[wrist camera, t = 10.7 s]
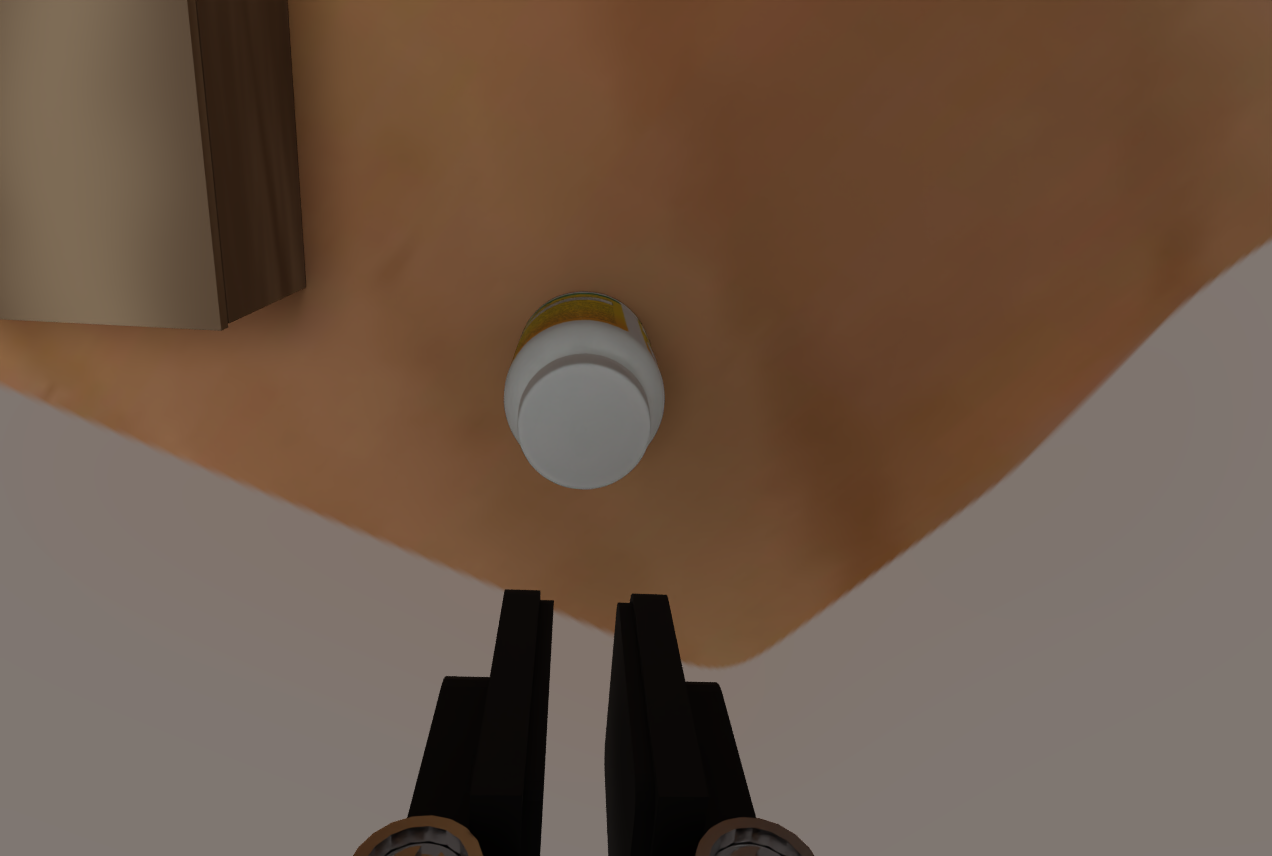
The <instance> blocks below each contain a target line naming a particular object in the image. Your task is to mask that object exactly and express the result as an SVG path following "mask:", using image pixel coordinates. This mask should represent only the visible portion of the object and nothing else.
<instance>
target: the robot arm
mask: <svg viewBox="0 0 1272 856" xmlns="http://www.w3.org/2000/svg"><path fill="white" fill-rule="evenodd" d="M553 606H554V601H552V600H540V591H538V590H509V589H505V591H504V597H503V603H502V609H501V615H500V620H499V627H498V632H497V639H496V644H495V651H494V656H493V662H492V668H491V674H490V677H457V676H446V677H445V678H444V680H443V683H442V686H441V690H440V693H439V697H438V701H437V705H436V709H435V713H434V716H433V720H432V724H431V728H430V732H429V736H428V740H427V744H426V747H425V751H424V756H423V759H422V763H421V767H420V771H419V774H418V779H417V782H416V786H415V790H414V794H413V798H412V802H411V805H410V809H409V813H408V817H407V818H406V819H402V820H399V821H396V822H393V823H390V824H389V825H387V826H385V827H384V828H382V829H380V830H378V831H377V832H375V833H373V834H372V835H371V836H370V837H369V838H368V839H367V840H366V841H365V842H364V843H362V844H361V845H360V846H359V847H358V849H357V850H356V852H355V854H354V855H353V856H540V846H541V827H542V809H543V791H544V773H545V754H546V736H547V718H548V716H547V715H548V698H549V680H550V661H551V643H552V642H551V641H552V625H553ZM604 765H605V790H606V812H607V834H608V856H814V855H813V853H812V851H811V850H810V848H809V847H808V846H807V845H806V844H805V843H804V842H803V841H801V839H799V838H798V837H797V836H796V835H795V834H794V833H792V832H790V831H789V830H787V829H785V828H784V827H782V826H780V825H779V824H776V823H773V822H769V821H766V820H763V819H760V818H756V816H755V812H754V808H753V805H752V802H751V797H750V794H749V790H748V786H747V783H746V779H745V775H744V772H743V768H742V764H741V761H740V757H739V753H738V750H737V746H736V742H735V739H734V735H733V731H732V727H731V724H730V720H729V716H728V713H727V709H726V705H725V702H724V698H723V694H722V691H721V688H720V686H719V684H718V683H716V682H685V678H684V673H683V669H682V664H681V659H680V654H679V649H678V644H677V639H676V635H675V630H674V625H673V620H672V615H671V610H670V605H669V601H668V597H667V595H657V594H632V595H631V599H630V603H618V604H617V611H616V623H615V634H614V646H613V657H612V669H611V681H610V692H609V704H608V715H607V727H606V740H605V764H604Z"/></svg>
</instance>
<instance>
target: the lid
mask: <svg viewBox="0 0 1272 856" xmlns="http://www.w3.org/2000/svg"><path fill="white" fill-rule="evenodd" d="M0 319H7V320H26V321H45V322H65V323H84V324H103V325H122V326H141V327H160V328H180V329H199V330H218V331H222V330H224V329H225V328H227V327H228V322H227V312H226V302H225V292H224V282H223V272H222V262H221V252H220V242H219V232H218V222H217V212H216V202H215V192H214V182H213V172H212V162H211V152H210V142H209V133H208V123H207V113H206V103H205V93H204V83H203V73H202V63H201V53H200V43H199V33H198V23H197V13H196V3H195V0H0Z"/></svg>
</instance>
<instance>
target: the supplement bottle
mask: <svg viewBox="0 0 1272 856" xmlns="http://www.w3.org/2000/svg"><path fill="white" fill-rule="evenodd" d="M664 401H665V394H664V385H663V380H662V376H661V373H660V369H659V367H658V364H657V361H656V359H655V356H654V354H653V351H652V348H651V345H650V342H649V339H648V337H647V334H646V332H645V330H644V328H643V326H642V324H641V322H640V321H639V319H638V318H637V317H636V315H635V314H634V313H633V312H632V311H631V310H630V309H629V308H628V307H627V306H625V305H624V304H623V303H621V302H619V301H618V300H616V299H614V298H612V297H610V296H607V295H605V294H600V293H595V292H573V293H567V294H564V295H561V296H558V297H555V298H553V299H552V300H550V301H548V302H547V303H545V304H544V305H542V306H541V307H540V308H539V309H538V310H537V311H536V312H535V313H534V314H533V315H532V317H531V318H530V320H529V321H528V323H527V324H526V326H525V328H524V331H523V333H522V335H521V338H520V340H519V343H518V346H517V349H516V352H515V355H514V358H513V360H512V363H511V366H510V369H509V371H508V374H507V378H506V382H505V389H504V408H505V413H506V418H507V421H508V424H509V427H510V429H511V431H512V433H513V435H514V437H515V438H516V440H517V441H518V443H519V444H520V446H521V449H522V451H523V453H524V455H525V456H526V458H527V460H528V461H529V463H530V464H531V465H532V467H533V468H534V469H535V470H536V471H538V472H539V473H540V474H541V475H542V476H544V477H545V478H547V479H548V480H550V481H552V482H554V483H556V484H558V485H561V486H564V487H568V488H574V489H595V488H600V487H604V486H607V485H609V484H612V483H614V482H616V481H618V480H619V479H621V478H623V477H624V476H625V475H627V474H628V473H629V472H630V471H631V470H632V469H633V468H634V467H635V466H636V465H637V464H638V463H639V461H640V460H641V458H642V457H643V455H644V453H645V451H646V448H647V446H648V445H649V444H650V442H651V441H652V439H653V438H654V436H655V434H656V432H657V430H658V428H659V426H660V423H661V420H662V416H663V412H664Z"/></svg>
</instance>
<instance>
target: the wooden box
mask: <svg viewBox="0 0 1272 856" xmlns="http://www.w3.org/2000/svg"><path fill="white" fill-rule="evenodd" d="M195 3H196V13H197V23H198V33H199V43H200V53H201V63H202V73H203V83H204V93H205V103H206V113H207V123H208V133H209V142H210V152H211V162H212V172H213V182H214V192H215V202H216V212H217V222H218V232H219V242H220V252H221V262H222V272H223V282H224V292H225V302H226V312H227V322H228V323H231V322H233V321H235V320H237V319H239V318H241V317H244V316H246V315H248V314H250V313H252V312H254V311H256V310H258V309H261V308H263V307H265V306H267V305H269V304H271V303H273V302H276V301H278V300H280V299H282V298H284V297H286V296H288V295H291V294H293V293H295V292H297V291H299V290H301V289H303V288H305V287H306V279H305V263H304V248H303V233H302V218H301V202H300V187H299V172H298V156H297V141H296V126H295V110H294V95H293V80H292V64H291V49H290V34H289V18H288V3H287V0H195Z"/></svg>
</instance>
